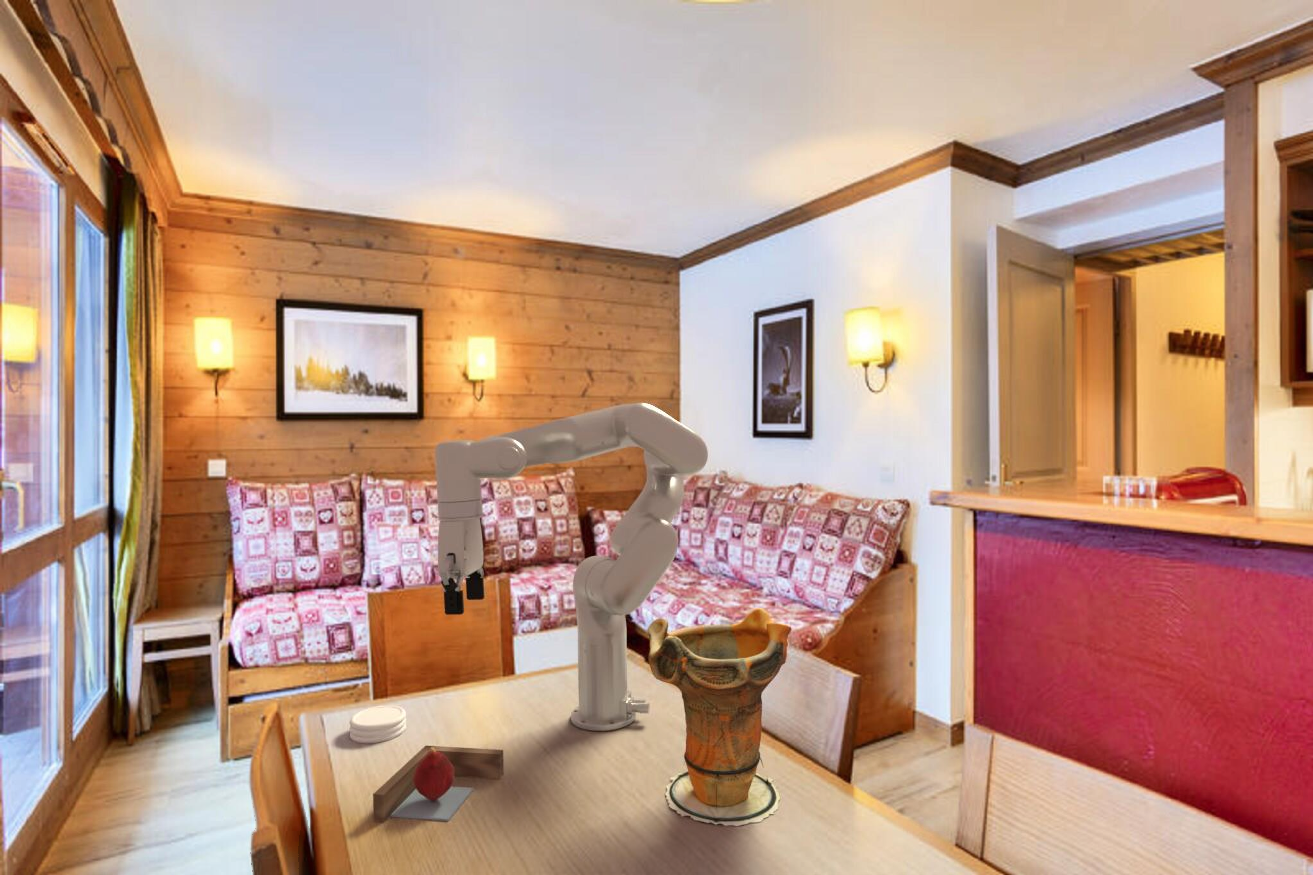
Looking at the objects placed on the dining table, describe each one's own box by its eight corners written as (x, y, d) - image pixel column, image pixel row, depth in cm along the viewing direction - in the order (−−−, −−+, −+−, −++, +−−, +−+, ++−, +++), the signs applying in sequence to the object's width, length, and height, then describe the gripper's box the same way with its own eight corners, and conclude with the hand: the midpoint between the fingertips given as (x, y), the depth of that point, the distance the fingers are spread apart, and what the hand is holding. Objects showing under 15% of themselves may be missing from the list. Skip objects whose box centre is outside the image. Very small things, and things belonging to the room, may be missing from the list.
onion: (461, 792, 110) (460, 741, 110) (443, 811, 104) (442, 757, 104) (426, 789, 111) (425, 738, 111) (406, 808, 105) (406, 755, 105)
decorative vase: (623, 775, 114) (630, 602, 114) (750, 758, 122) (756, 595, 122) (672, 846, 94) (679, 636, 95) (819, 819, 103) (825, 626, 103)
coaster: (352, 726, 137) (352, 708, 137) (407, 719, 140) (406, 701, 140) (347, 748, 127) (346, 728, 127) (405, 740, 130) (405, 721, 130)
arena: (503, 773, 116) (503, 749, 116) (462, 828, 100) (461, 799, 100) (426, 769, 118) (425, 745, 118) (373, 821, 102) (373, 794, 102)
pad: (473, 789, 111) (473, 787, 111) (448, 820, 102) (448, 818, 102) (420, 786, 113) (420, 784, 113) (390, 816, 104) (390, 814, 104)
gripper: (459, 504, 134) (463, 594, 134) (418, 517, 117) (423, 620, 117) (497, 503, 133) (502, 593, 133) (461, 516, 116) (467, 620, 116)
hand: (465, 606), depth 125 cm, fingers open, 9 cm apart
